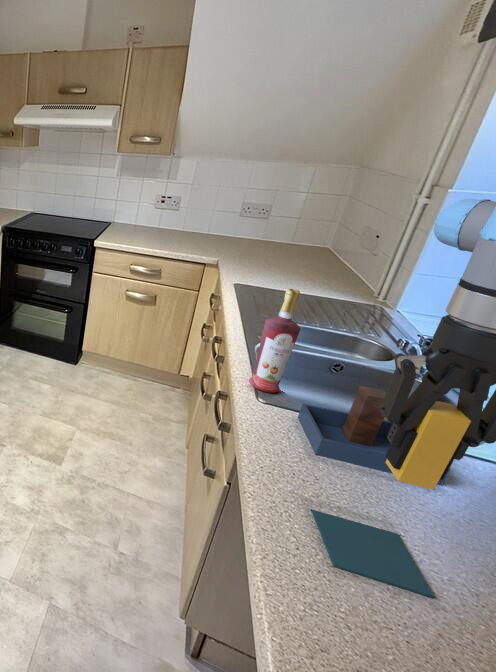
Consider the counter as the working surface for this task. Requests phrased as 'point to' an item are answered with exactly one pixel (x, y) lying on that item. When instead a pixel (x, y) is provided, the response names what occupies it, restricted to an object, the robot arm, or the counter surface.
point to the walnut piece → (364, 416)
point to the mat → (370, 553)
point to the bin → (344, 439)
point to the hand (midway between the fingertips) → (412, 467)
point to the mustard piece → (432, 445)
